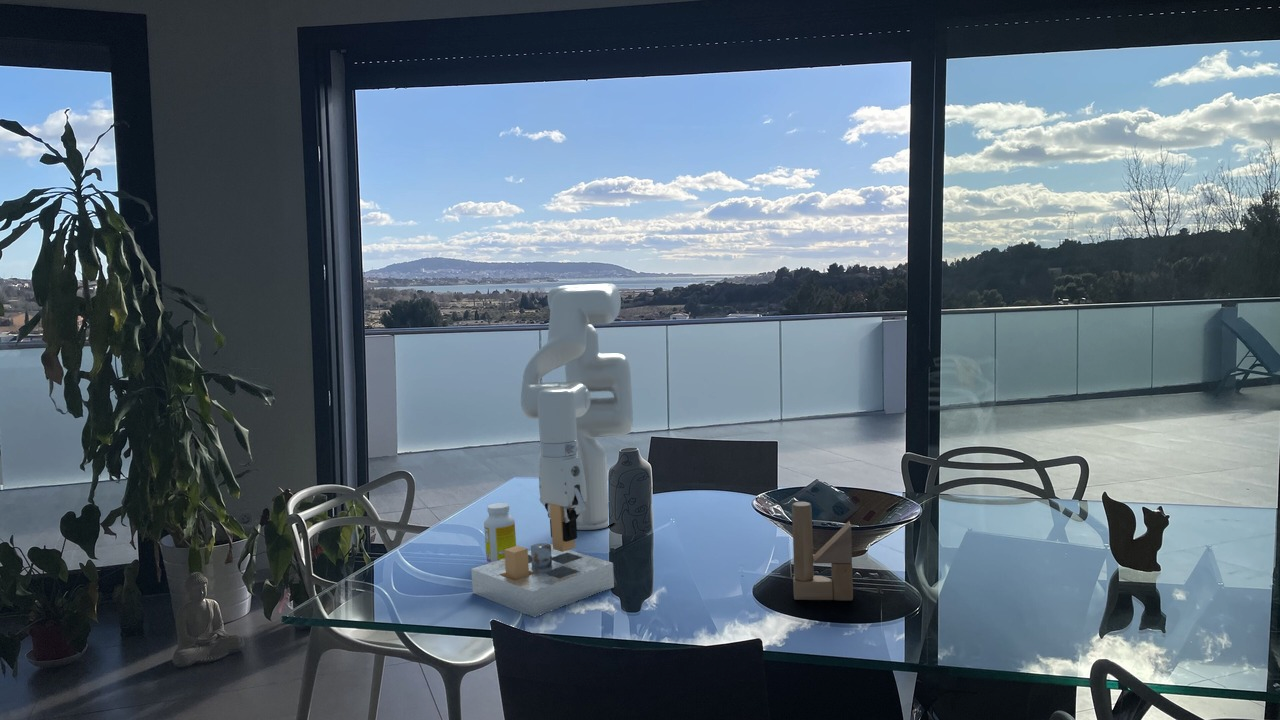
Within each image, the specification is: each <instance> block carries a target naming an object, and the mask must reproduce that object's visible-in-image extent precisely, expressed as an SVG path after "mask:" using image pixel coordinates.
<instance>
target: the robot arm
mask: <svg viewBox="0 0 1280 720" xmlns="http://www.w3.org/2000/svg"><path fill="white" fill-rule="evenodd" d="M547 304H548V308H549V313H550V314H549V323H548V333H547V342H546V343H545V344H544V345H543V346H541V347H540V348H539V350H538V351H536V353H534V355H532V357H531V358H530V359H529V361H528V363H527V364H526V366H525V369H524V371H523V375H522V383H521V392H520V393H521V394H520V407H521V411H522V413H523V415H524V416H526V417H527V418H529V419H532V420H538V429H539V430H538V432H539V434H538V435H539V450H540V451H539V452H540V455H539V466H538V488H539V501H540V503H541V504H542V506H544V508H545V510H546V512H547V518H548V519H549V524H550V525H549V526H550V529H549V530H550V537H551V538H552V528H551V514H550V503H551V504H555V505H559V506H561V507H563V515H564V521H565V522H562V525H563V540H564V541H565V542H567V541H571V540H574V539H575V540H576V539H577V538H578V531H594V530H600V529H605V528H608V502H609V488H608V485H609V484H608V483H609V482H608V468H607V467H608V465H607V454H606V451H605V449H604V447H603V445H602V444H601V443H600V442H599V441H598V440H597V439H596V437H598V438H599V437H612V436H613V437H614V436H615V437H616V436H624V435H628V434H630V432H631V431H632V428H633V425H634V409H633V394H632V376H631V367H630V362H629V360H628V358H627V357H626V356H625V355H624V354H622V353H617V352H612V353H611V352H609V353H608V352H607V353H604V352H603V353H601V352H600V350H599V335H598V332H597V330H596V328H595V327H594V325H609V324H612V323H613V322H614V321H615V320H616V319H617V318H618V316H619V314H620V311H621V308H622V307H621V306H622V300H621V294H620V290H619V288H618V287H617V285H615V284H614V283H589V284H588V283H587V284H584V283H583V284H582V283H581V284H568V285H567V284H566V285H560V286H559V285H558V286H555V287H553V288H552V289H550V290H549V291H548V293H547ZM563 366H564V370H565V380H566V381H565V382H564V381H563V382H560V381H559V382H557V381H555V382H541V379H542V378H543V377H545V375H547V374H549V373H550V372H552V371H553V370H557V369H558V368H560V367H563ZM591 393H610V394H612V396H607V397H606V396H605V397H591ZM569 509H572V510H571V511H570V513H569Z"/></svg>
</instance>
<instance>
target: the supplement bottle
mask: <svg viewBox="0 0 1280 720" xmlns="http://www.w3.org/2000/svg"><path fill="white" fill-rule="evenodd" d="M509 511H510V504H509V503H507V502H505V503H504V502H497V503H496V502H495V503H492V504H491V503H490V504H488V505H487V513H488V516H487V517H486V518H485V519H484V522H483V527H484V528H483V529H484V543H485V552H486V553H485V555H486V558H485V559H486V564H488V563H491V562H495V561H498V560H501V559H504V558H505V553H504V550H505V549H508V548H511V547H514V546H517V537H516V535H517V534H516V525H515V523H516V522H515V517H513V515H511V514H509Z"/></svg>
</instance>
